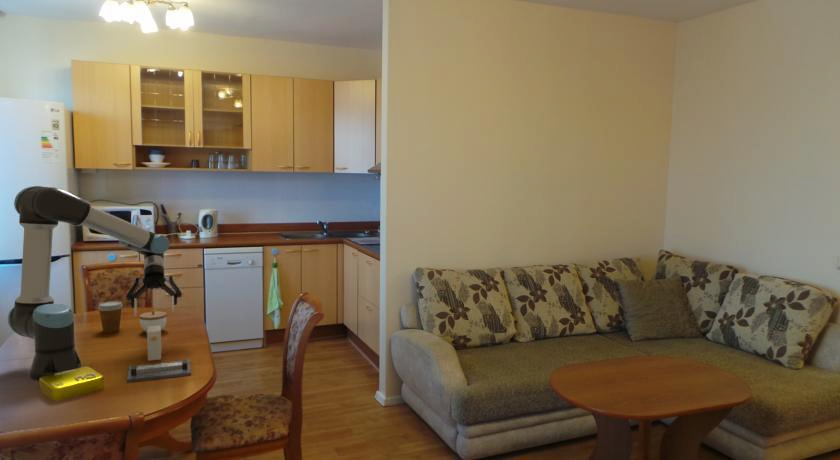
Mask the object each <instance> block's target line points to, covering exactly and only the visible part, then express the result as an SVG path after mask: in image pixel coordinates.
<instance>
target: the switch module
mask: <svg viewBox="0 0 840 460" xmlns="http://www.w3.org/2000/svg"><path fill="white" fill-rule="evenodd" d="M146 337H147V339H146V341H147V343H146V344H147V361H148V362H149V361H157V360H162V330H161V325H159V326H148V329H147V333H146Z"/></svg>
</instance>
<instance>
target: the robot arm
mask: <svg viewBox="0 0 840 460" xmlns="http://www.w3.org/2000/svg"><path fill="white" fill-rule="evenodd" d="M13 204H14V209H15V211H16V213H18V214H19V218H18V219H19V220H18V222H19V225H20V226H21V227H23V242H22V258H21V259H22V261H21V279H20V295H18V297H17V298H15V299H14V306H13V308H12V309H10V310H9V312H8V315H7V323H8V327H9V329H10V330H12V332H15V333H16V334H17V335H19V336H20V337H25V338H28V339H30V340H31V339H32V340H34V352H35V353H34V357H33V360H32V363H31V366H30V369H29V376H30V378H31V379H33V380H36V381H39V379H40V378H41V377H42V376H47V375H51V374H55V373H59V372H64V371H68V370H72V369H77V368H81V367H82V362H81V359H80V357H79V354H78V352H77V349H76V345H75V343H76V342H75V341H76V340H75V323H74V322H75V316H74V311H73V309H72V307H71V306H69V305H66V304H63V303H59V304H58V303H54V302H55V301H54V300H55V299H54V298H53V297H52V296H51V295H50V287H51V285H50V283H51V271H52V270H51V269H52V252H53V251H52V250H53V232H54V229H55V228H56V227H58V226H59V222H61V223H65V224H69V225H72V226H75V227H78V226H83V227H86V228H88V229H91V230H92V231H93V230H94V231H96V232H98V233H100V234H104V235H106V236H109V237H111V238H114V239H116V240H118V243H119V244H120V245H122V246H124V247H125V248H127V249H129V250H132V251H134V252H137V253H138V254H141V255H142V256H143V257H144V258H143V260H144V261H143V262H144V263H143V264H144V265H143V268H144V271H143V277H144V278H139V277H135V281H134V283H133V285H132V286H131V288H130V290H129V291H128V292H127V293H126V295H125V297H126V301H128V302H129V301H130V307H131V308H132V309H133V308H134V309H133V314H134V317H137V315H138V298H139V297H140V296H141V295H143V294H144V293H145V292H146V291H147V290H149V289H150V290H153V289H161V290H163V291H165V293H167V294H168V295H169V296H171V311H172V312H171V313H172V314H174V313H175V306H176V305H178V298H181V297H182V295H183V294H182V291H181V290H180V288H179V287H178V285H177V284H176V283H175V281H174V279H173V275H169V276H168V277H165V258H164V257H165V255H164V254H165V253H166V252H167V251H168V250H169V247H170V240H169V238H168V237H167V236H165V235H162V234H161V233H160V234H159V233H154V232H152V231H150V230H147V229H146V228H143V227H141V226H139V225H137V224H134V223H132V222H129V221H127V220H125V219H122V218H120V217H118V216H116V215H113V214H110V213H108V212H106V211H105V210H104V211H103V210H101V209H99V208H97V207H94V206H92V205H91V202H89V201H88V200H86V199H84V198H81V197H79V196H78V195H76V194H73V193H71V192H69V191H66V190H64V189H62V188H58V187H53V186H50V187H49V186H41V185H34V186H28V187H25V188H23V189H22V190H20V191H19V192H18V193H17V194H16V196H15V198H14V201H13ZM166 282H167V283H168V284H169V285H170V286H171V288H170V287H169V286H168V285H167V284H166ZM142 283H143V284H142ZM141 284H142V286H141ZM139 286H141V287H140V288H139ZM138 288H139V289H138Z"/></svg>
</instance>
